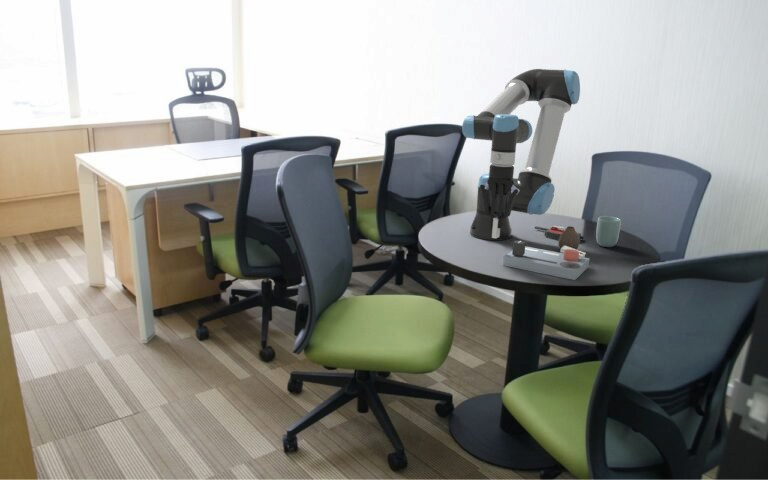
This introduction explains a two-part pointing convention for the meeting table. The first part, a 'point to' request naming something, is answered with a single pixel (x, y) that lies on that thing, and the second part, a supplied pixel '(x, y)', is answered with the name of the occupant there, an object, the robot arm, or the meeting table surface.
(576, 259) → the button
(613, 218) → the cup
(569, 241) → the vase
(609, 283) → the meeting table surface
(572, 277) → the console
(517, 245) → the slider
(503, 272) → the meeting table surface
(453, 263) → the meeting table surface
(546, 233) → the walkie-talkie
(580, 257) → the rocker
